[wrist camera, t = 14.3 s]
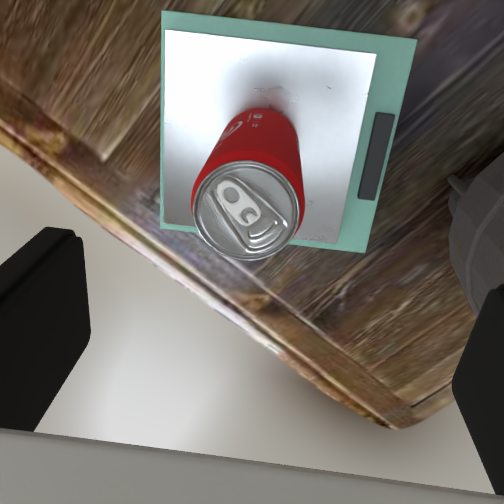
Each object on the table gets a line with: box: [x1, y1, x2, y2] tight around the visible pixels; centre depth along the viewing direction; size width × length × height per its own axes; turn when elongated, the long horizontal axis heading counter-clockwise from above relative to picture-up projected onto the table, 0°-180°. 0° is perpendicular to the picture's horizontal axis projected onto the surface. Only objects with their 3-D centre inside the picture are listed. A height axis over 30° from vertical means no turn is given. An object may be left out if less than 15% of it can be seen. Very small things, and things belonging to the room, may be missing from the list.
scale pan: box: [163, 29, 377, 244], centre depth 31 cm, size 13×13×1 cm
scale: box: [160, 10, 418, 253], centre depth 32 cm, size 16×15×4 cm
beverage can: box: [191, 109, 305, 261], centre depth 25 cm, size 5×5×12 cm
